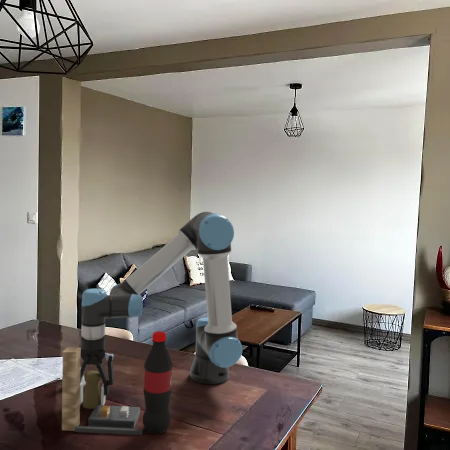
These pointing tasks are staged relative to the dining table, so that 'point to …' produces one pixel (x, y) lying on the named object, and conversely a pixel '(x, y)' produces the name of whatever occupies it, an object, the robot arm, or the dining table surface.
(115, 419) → the breaker panel
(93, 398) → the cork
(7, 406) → the dining table surface
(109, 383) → the robot arm
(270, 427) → the dining table surface
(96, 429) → the thin curved gray strip
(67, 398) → the oak post
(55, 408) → the dining table surface
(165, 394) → the cola bottle
